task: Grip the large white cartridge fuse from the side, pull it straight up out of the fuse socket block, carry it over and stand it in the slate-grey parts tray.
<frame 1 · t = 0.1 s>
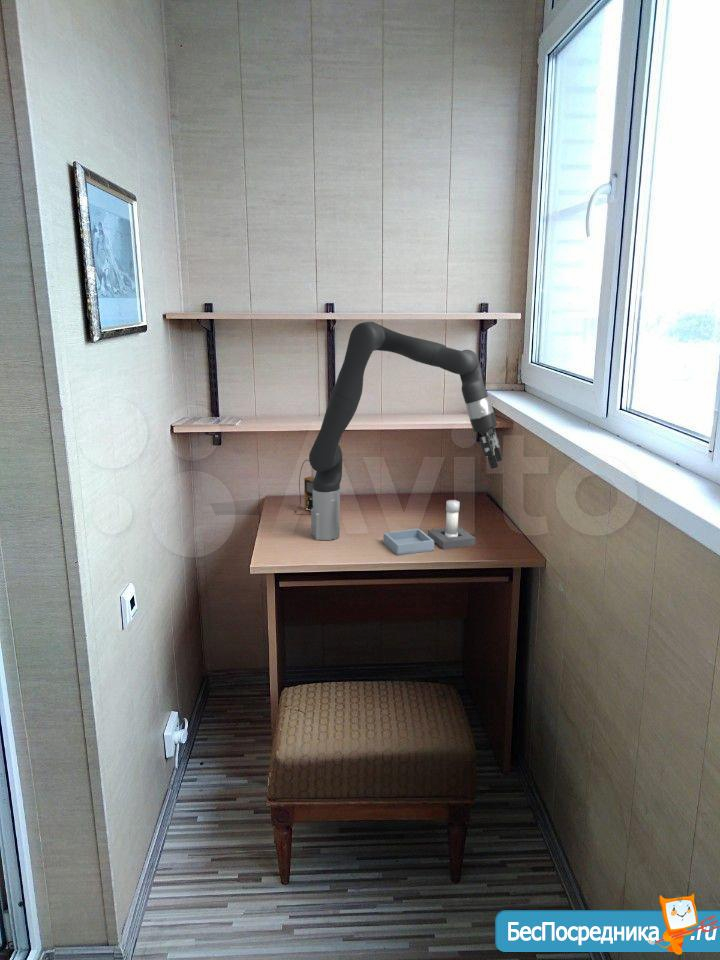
hand: (497, 464, 207), 31 cm above the table, tool tilted 20°, fingers open, 8 cm apart
parts tray: (408, 546, 225), on the table
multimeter: (306, 514, 256), on the table
fuse socket: (451, 540, 231), on the table
fuse: (452, 521, 229), in the fuse socket
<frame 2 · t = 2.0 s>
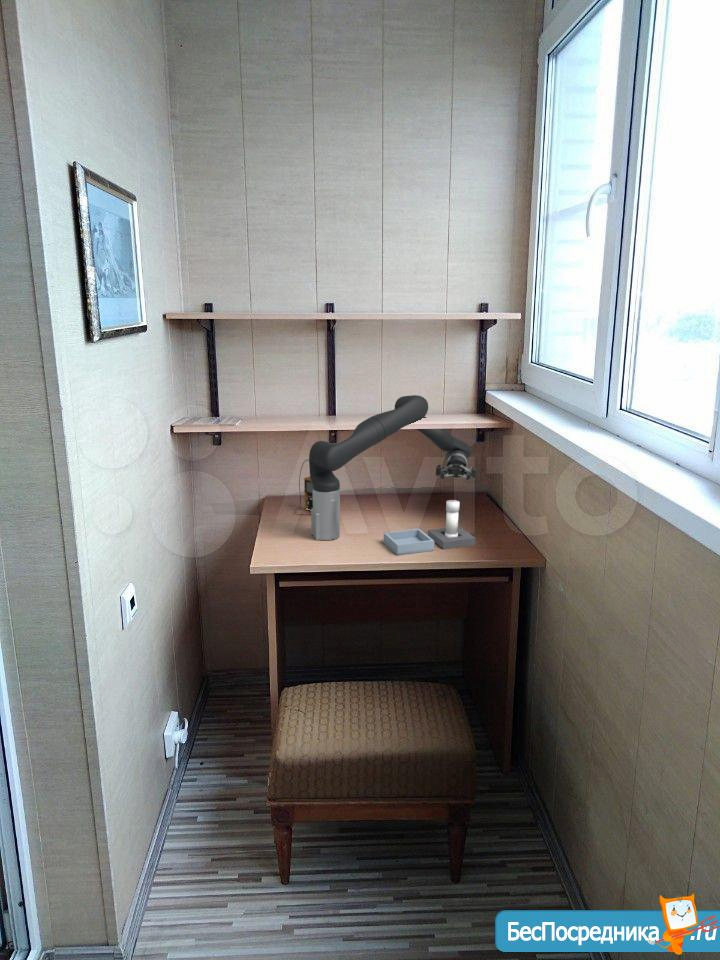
hand: (455, 476, 236), 20 cm above the table, tool horizontal, fingers open, 8 cm apart
nothing on the table moved.
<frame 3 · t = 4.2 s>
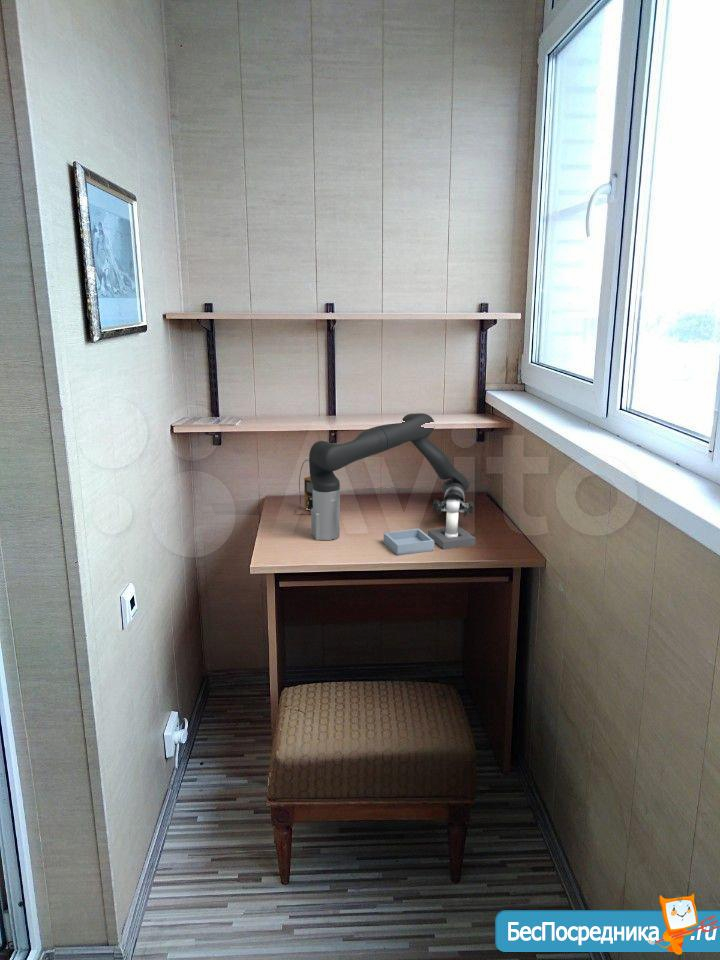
hand: (452, 512, 233), 8 cm above the table, tool horizontal, fingers open, 8 cm apart
nothing on the table moved.
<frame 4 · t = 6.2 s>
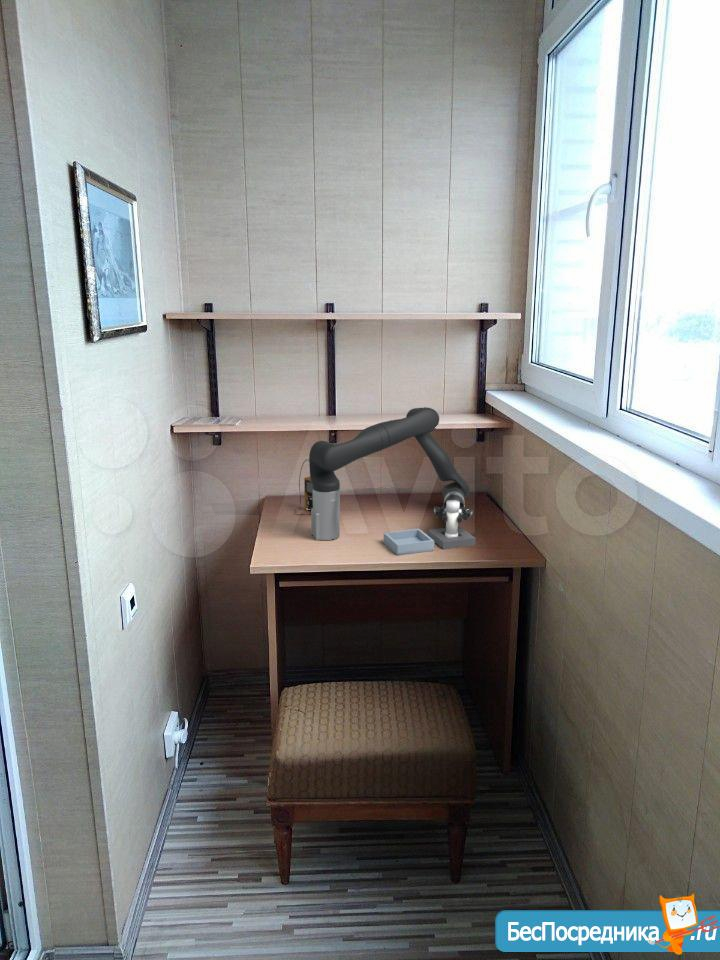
hand: (452, 520, 226), 9 cm above the table, tool horizontal, fingers closed on fuse, 4 cm apart
fuse: (452, 521, 229), in the fuse socket, touching gripper
everything else where it was.
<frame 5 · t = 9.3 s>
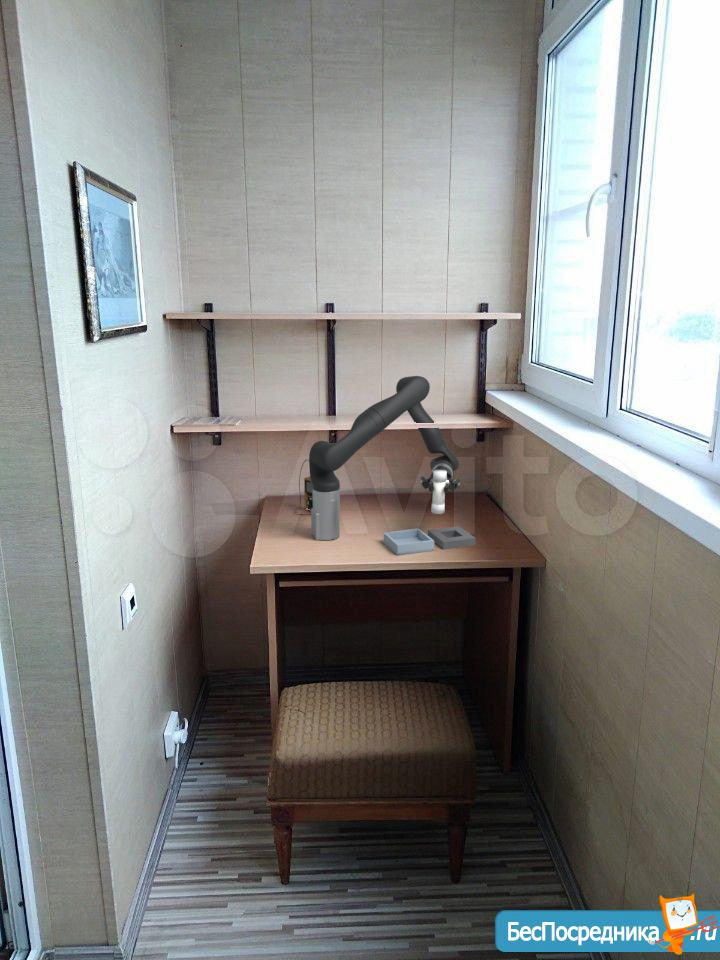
hand: (438, 489, 221), 20 cm above the table, tool horizontal, fingers closed on fuse, 4 cm apart
fuse: (438, 491, 224), point 18 cm above the table, touching gripper
everything else where it was.
when the fingers open (10 cm above the table, at t = 12.6 s): fuse stays where it is, resting on parts tray.
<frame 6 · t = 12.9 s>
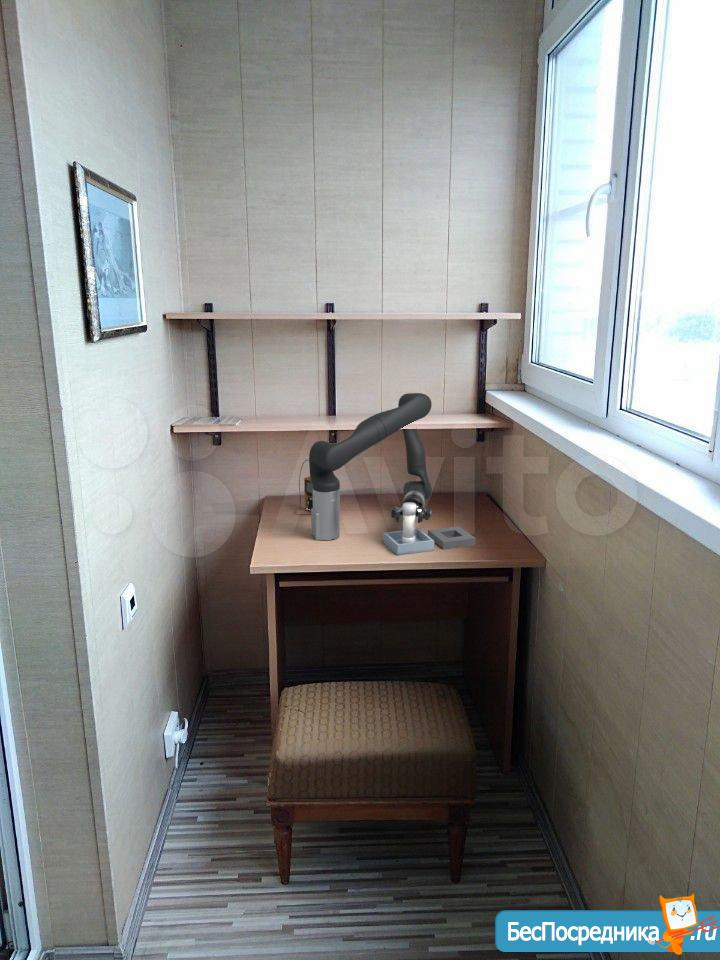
hand: (408, 519, 220), 10 cm above the table, tool horizontal, fingers open, 6 cm apart
fuse: (408, 524, 223), in the parts tray, point 8 cm above the table
everything else where it was.
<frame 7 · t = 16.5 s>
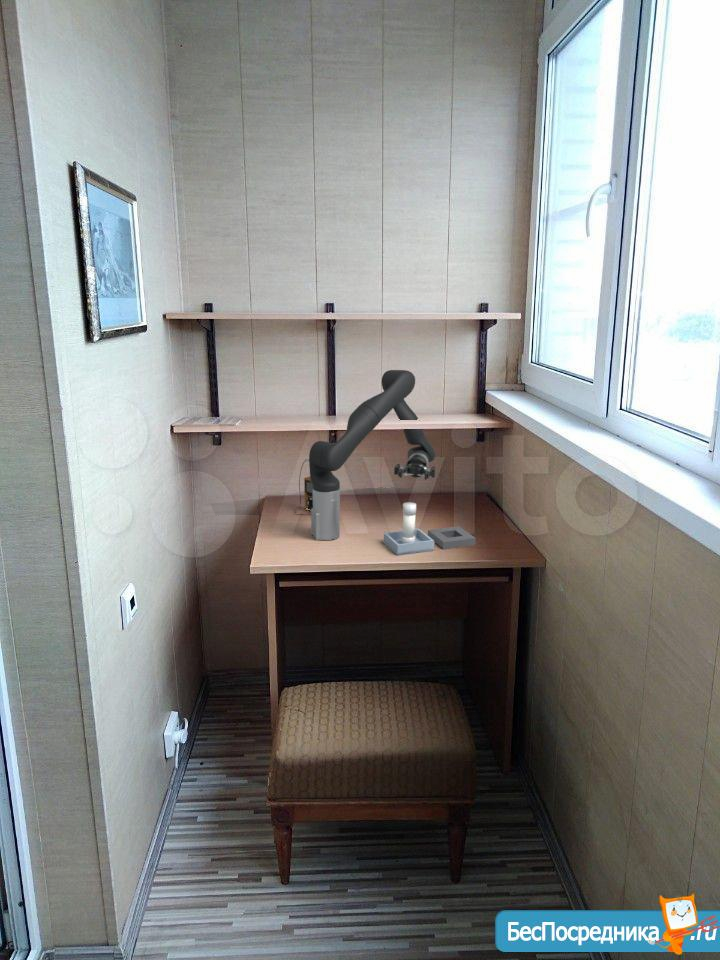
hand: (413, 475, 230), 22 cm above the table, tool horizontal, fingers open, 8 cm apart
nothing on the table moved.
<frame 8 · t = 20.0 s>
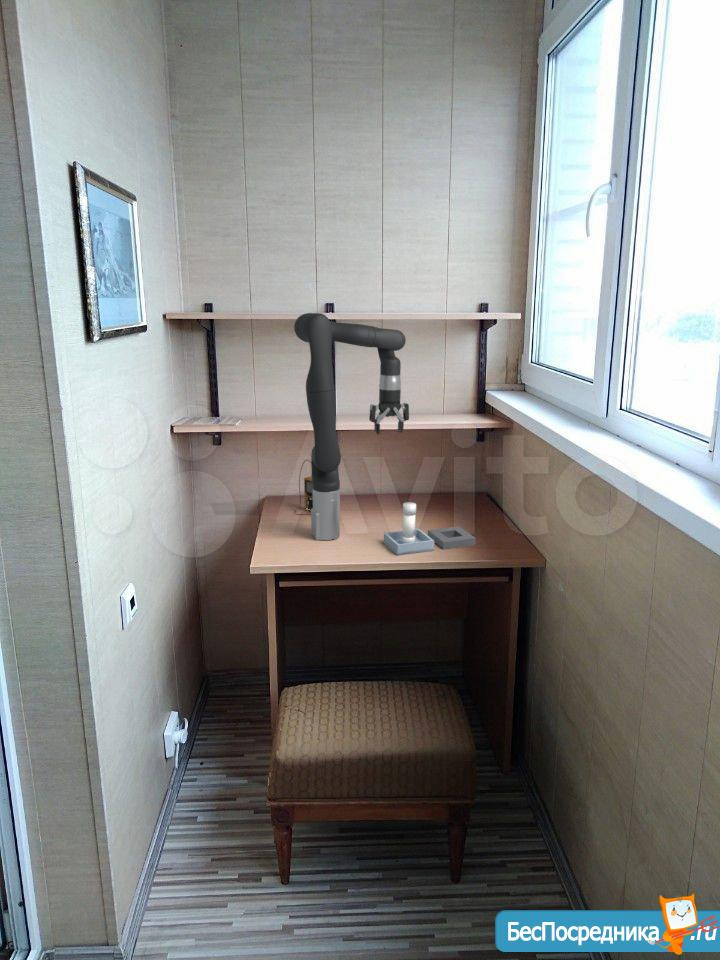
hand: (388, 433, 240), 33 cm above the table, tool pointing down, fingers open, 8 cm apart
nothing on the table moved.
at the end: fuse inside the target area on the parts tray (0.1 cm from its centre), point 7.8 cm above the parts tray's base; the gripper is holding nothing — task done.
